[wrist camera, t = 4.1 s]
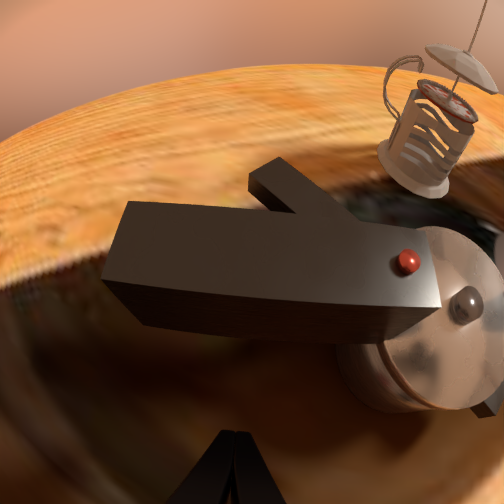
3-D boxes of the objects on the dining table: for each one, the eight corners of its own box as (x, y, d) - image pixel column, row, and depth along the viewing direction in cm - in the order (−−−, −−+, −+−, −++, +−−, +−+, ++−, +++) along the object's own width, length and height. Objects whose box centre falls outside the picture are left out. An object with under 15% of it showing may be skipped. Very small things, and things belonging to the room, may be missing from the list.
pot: (482, 360, 17) (532, 337, 12) (421, 460, 14) (476, 464, 9) (301, 184, 26) (313, 131, 20) (209, 245, 22) (202, 191, 17)
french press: (452, 212, 25) (561, 16, 4) (356, 168, 27) (427, -70, 6) (446, 159, 30) (518, 0, 9) (366, 123, 32) (416, -56, 11)
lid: (504, 248, 16) (545, 206, 11) (530, 385, 10) (588, 361, 6) (174, 208, 16) (157, 130, 11) (132, 406, 10) (68, 397, 6)
